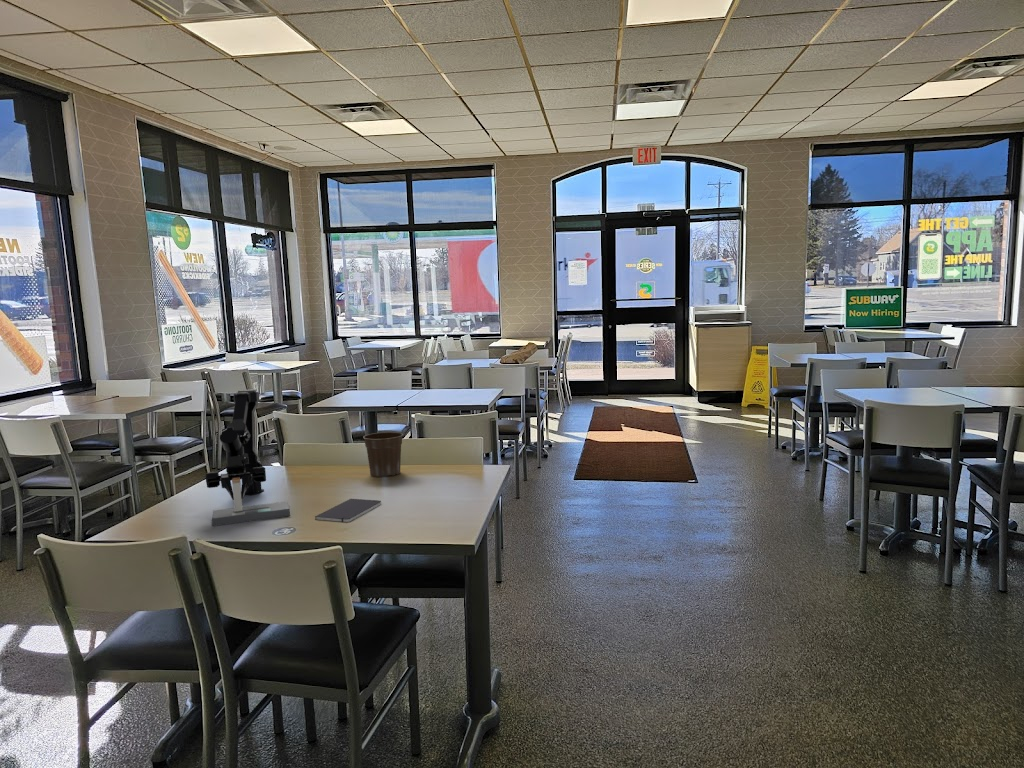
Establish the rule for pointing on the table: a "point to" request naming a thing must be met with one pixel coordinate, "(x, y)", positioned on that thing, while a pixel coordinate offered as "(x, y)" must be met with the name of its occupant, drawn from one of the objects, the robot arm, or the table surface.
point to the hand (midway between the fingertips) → (237, 498)
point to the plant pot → (384, 453)
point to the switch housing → (250, 513)
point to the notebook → (348, 510)
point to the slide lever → (237, 494)
